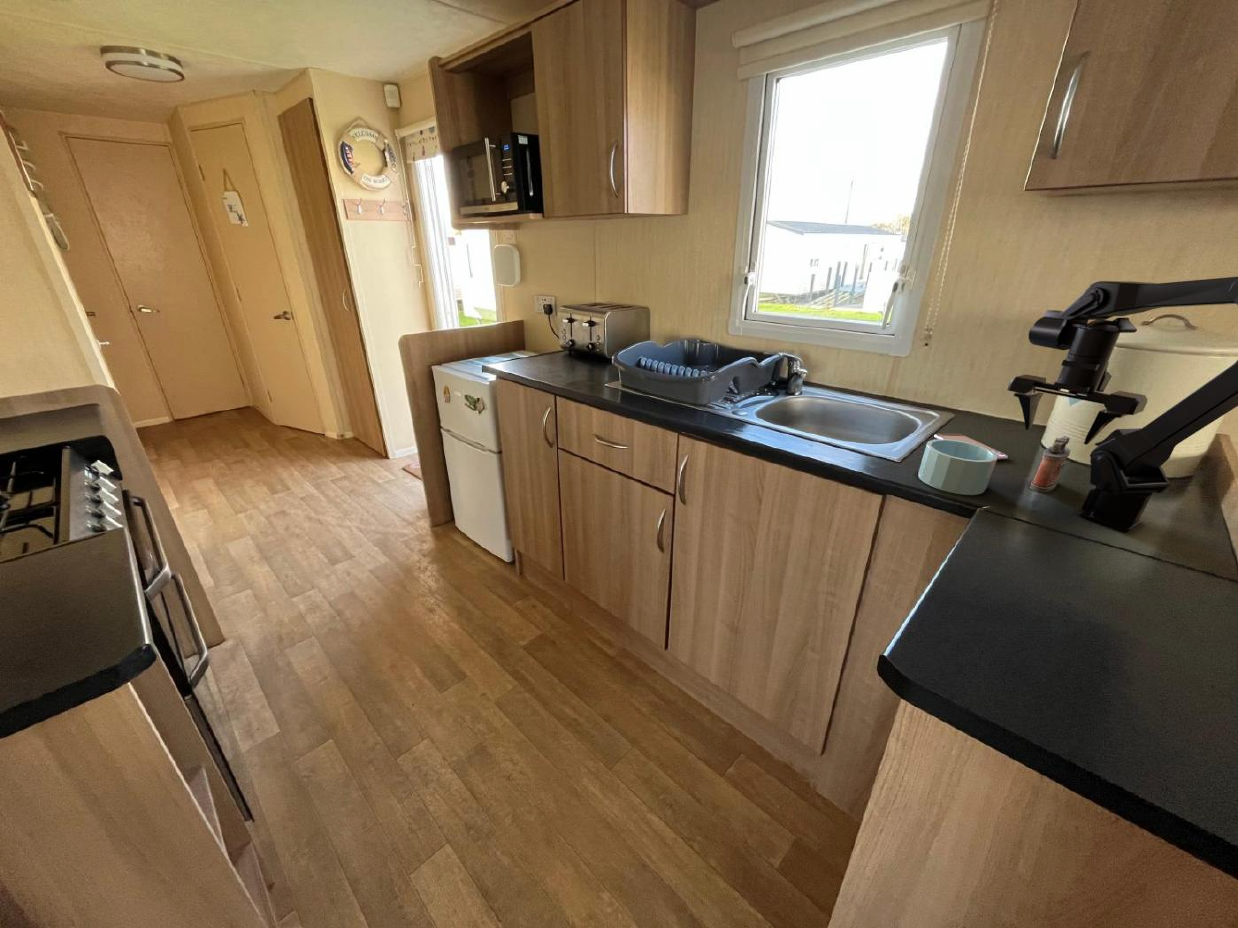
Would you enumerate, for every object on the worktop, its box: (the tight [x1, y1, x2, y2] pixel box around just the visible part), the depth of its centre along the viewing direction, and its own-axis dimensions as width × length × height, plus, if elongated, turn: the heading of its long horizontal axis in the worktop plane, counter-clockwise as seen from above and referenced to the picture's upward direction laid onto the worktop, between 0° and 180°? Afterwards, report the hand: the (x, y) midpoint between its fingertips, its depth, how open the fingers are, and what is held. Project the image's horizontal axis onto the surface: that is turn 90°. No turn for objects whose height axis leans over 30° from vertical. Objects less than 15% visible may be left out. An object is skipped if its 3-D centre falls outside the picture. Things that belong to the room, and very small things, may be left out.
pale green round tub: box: [917, 438, 998, 496], centre depth 97 cm, size 12×12×7 cm
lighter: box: [1029, 435, 1072, 493], centre depth 95 cm, size 8×3×10 cm, turn 126°
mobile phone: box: [933, 432, 1009, 461], centre depth 115 cm, size 8×1×15 cm
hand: (1055, 436), depth 94 cm, fingers open, 9 cm apart
